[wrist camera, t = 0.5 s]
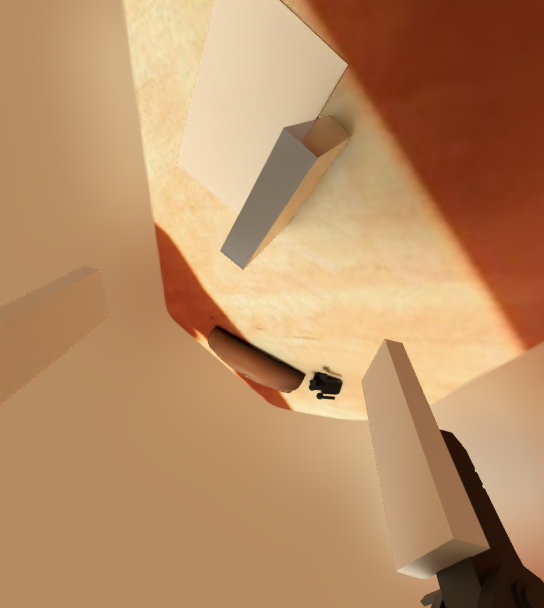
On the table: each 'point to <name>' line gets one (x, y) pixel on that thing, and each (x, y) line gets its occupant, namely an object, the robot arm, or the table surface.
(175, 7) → the table surface
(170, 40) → the table surface
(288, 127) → the slate tile
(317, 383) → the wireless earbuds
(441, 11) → the table surface
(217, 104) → the felt mat
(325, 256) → the table surface
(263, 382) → the sunglasses case
